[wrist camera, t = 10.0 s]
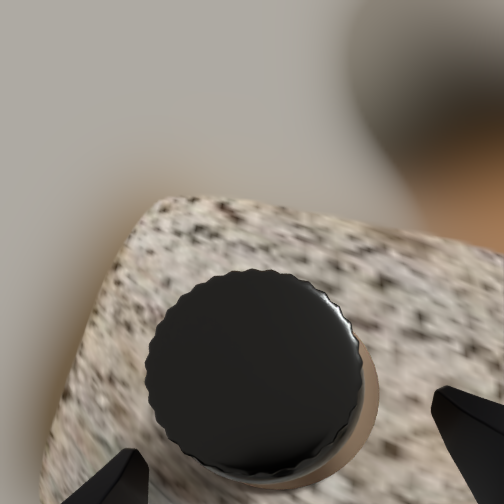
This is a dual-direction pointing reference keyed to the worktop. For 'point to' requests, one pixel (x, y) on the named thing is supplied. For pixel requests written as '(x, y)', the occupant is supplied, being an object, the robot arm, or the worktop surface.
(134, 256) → the worktop surface
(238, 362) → the supplement bottle
